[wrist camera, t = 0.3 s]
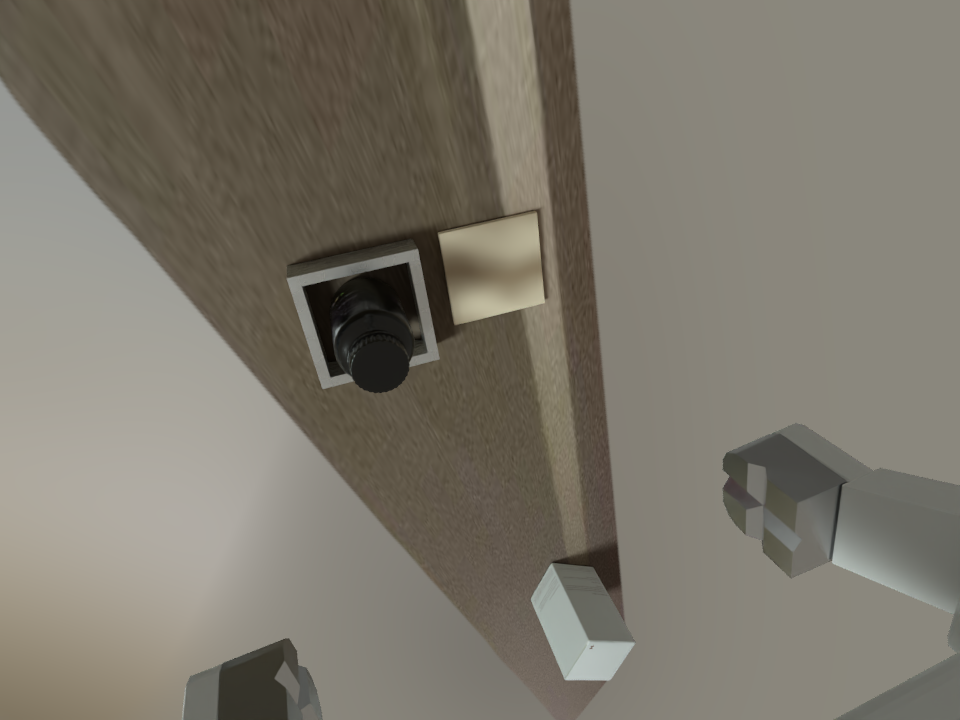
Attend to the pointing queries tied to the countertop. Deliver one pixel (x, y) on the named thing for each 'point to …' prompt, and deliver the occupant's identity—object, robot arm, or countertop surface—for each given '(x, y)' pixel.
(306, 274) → the steel holder
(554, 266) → the countertop surface
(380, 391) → the supplement bottle
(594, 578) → the supplement box
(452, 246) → the birch pad
